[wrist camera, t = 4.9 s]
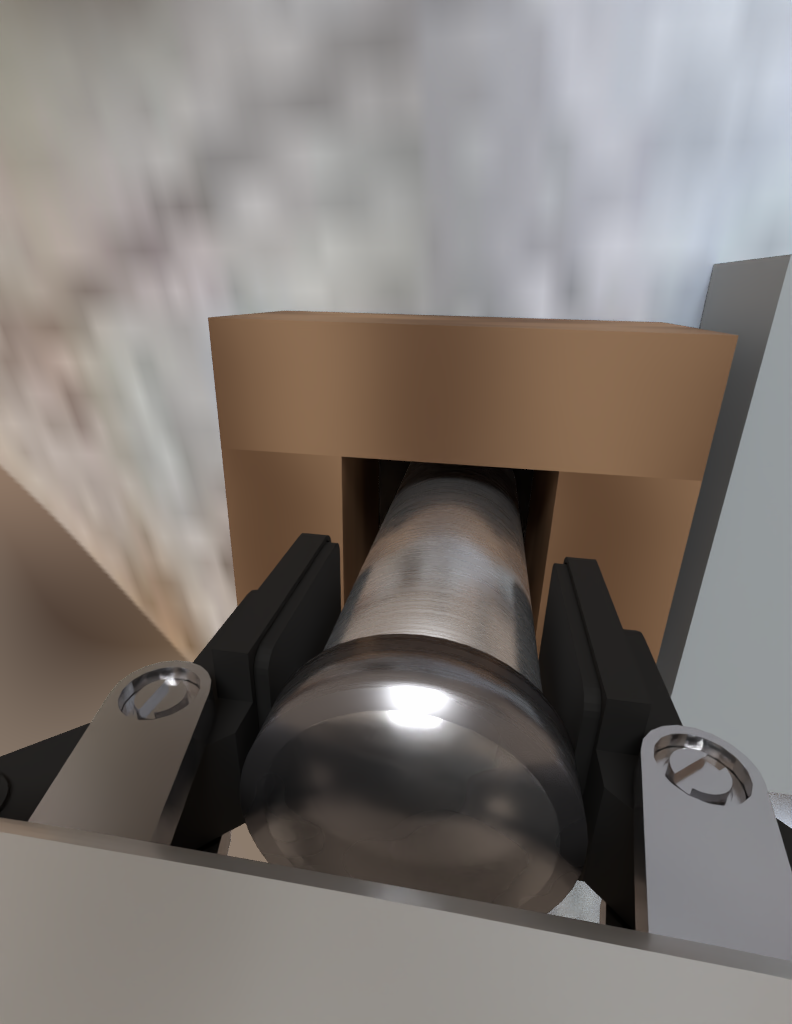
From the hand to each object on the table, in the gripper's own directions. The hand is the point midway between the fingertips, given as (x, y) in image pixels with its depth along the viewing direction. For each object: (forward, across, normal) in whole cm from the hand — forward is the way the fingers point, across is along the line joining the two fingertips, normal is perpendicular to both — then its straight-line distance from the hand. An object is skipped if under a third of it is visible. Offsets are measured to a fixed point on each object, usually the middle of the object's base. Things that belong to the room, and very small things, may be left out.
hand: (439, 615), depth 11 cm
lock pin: (+7, 0, 0) cm, 7 cm away
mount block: (+8, 0, 0) cm, 8 cm away
